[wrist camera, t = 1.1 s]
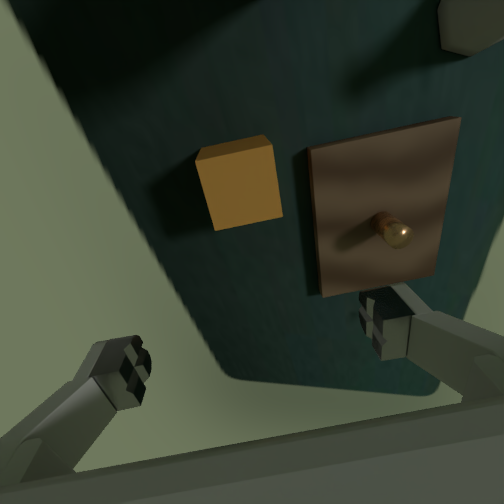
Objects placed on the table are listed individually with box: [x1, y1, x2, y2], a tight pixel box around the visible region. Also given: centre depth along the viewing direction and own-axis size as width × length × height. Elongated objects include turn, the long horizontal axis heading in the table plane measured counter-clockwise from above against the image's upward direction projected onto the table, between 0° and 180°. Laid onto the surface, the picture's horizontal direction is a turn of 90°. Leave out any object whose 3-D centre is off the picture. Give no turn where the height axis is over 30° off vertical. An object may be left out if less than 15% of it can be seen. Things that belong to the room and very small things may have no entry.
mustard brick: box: [195, 135, 283, 231], centre depth 25 cm, size 6×6×6 cm
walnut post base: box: [307, 116, 461, 297], centre depth 29 cm, size 18×14×6 cm
